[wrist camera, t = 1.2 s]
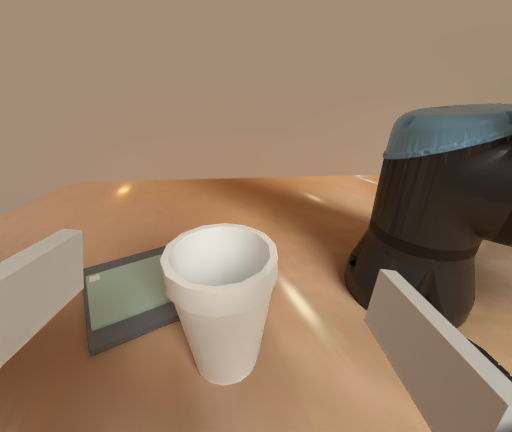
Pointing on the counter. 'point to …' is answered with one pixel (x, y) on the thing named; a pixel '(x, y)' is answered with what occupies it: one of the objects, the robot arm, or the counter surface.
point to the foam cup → (221, 295)
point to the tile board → (125, 300)
